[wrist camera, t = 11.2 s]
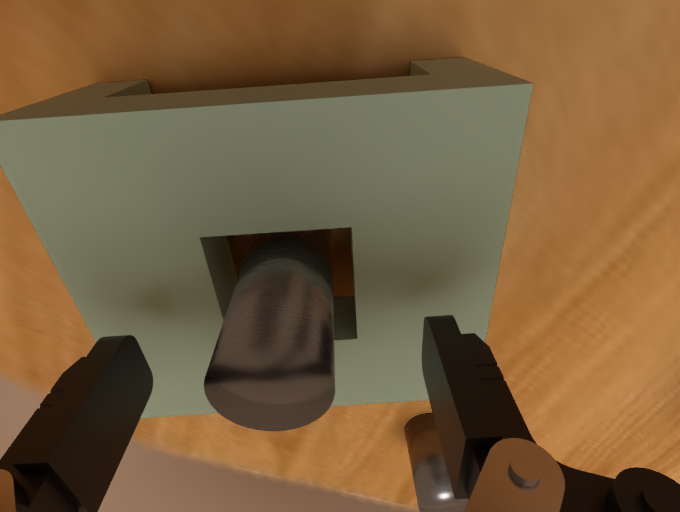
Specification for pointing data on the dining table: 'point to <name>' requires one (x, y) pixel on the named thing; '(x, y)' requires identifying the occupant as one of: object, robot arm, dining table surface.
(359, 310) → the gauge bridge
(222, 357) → the long pin
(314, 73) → the dining table surface
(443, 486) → the short pin
